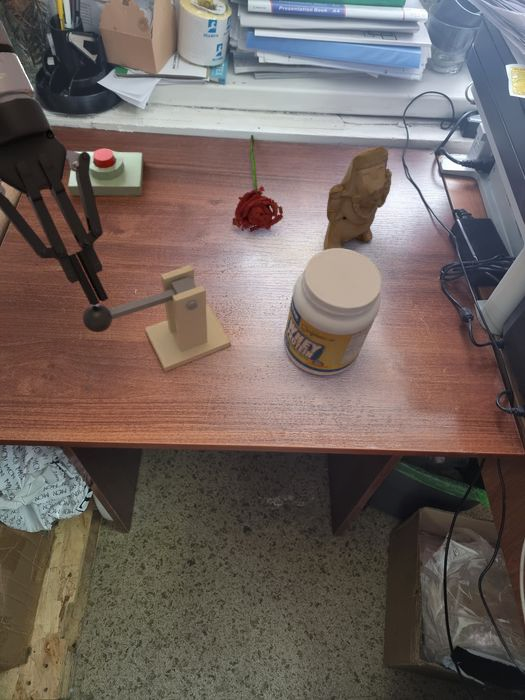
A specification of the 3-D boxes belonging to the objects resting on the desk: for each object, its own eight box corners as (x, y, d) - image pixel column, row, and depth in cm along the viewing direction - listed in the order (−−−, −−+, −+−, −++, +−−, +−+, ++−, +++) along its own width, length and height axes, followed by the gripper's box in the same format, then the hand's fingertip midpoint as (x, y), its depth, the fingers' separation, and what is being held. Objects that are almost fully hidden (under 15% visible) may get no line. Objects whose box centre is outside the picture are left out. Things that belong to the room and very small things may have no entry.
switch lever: (90, 341, 65) (85, 324, 62) (82, 320, 67) (76, 303, 64) (198, 305, 71) (198, 288, 68) (188, 287, 72) (188, 269, 69)
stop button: (94, 168, 94) (92, 160, 92) (95, 156, 96) (94, 148, 94) (114, 168, 94) (112, 160, 93) (115, 156, 96) (113, 148, 95)
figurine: (327, 268, 90) (352, 175, 73) (306, 241, 93) (326, 146, 76) (384, 247, 94) (421, 154, 77) (362, 221, 97) (393, 127, 80)
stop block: (70, 195, 95) (65, 178, 91) (76, 161, 100) (71, 143, 97) (141, 195, 96) (138, 178, 93) (143, 161, 101) (141, 144, 98)
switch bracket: (164, 372, 76) (155, 318, 64) (145, 332, 80) (133, 274, 68) (230, 345, 79) (233, 290, 68) (209, 308, 83) (208, 250, 71)
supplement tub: (267, 344, 80) (277, 273, 66) (316, 302, 85) (336, 229, 71) (325, 393, 76) (350, 330, 62) (373, 346, 81) (406, 278, 67)
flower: (240, 167, 113) (245, 249, 94) (220, 129, 107) (220, 209, 87) (278, 149, 111) (291, 230, 91) (260, 109, 104) (269, 187, 84)
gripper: (-63, 116, 51) (50, 327, 58) (66, 81, 55) (155, 280, 63) (-57, 134, 57) (44, 321, 65) (58, 101, 62) (140, 279, 70)
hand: (99, 301), depth 64 cm, fingers closed
